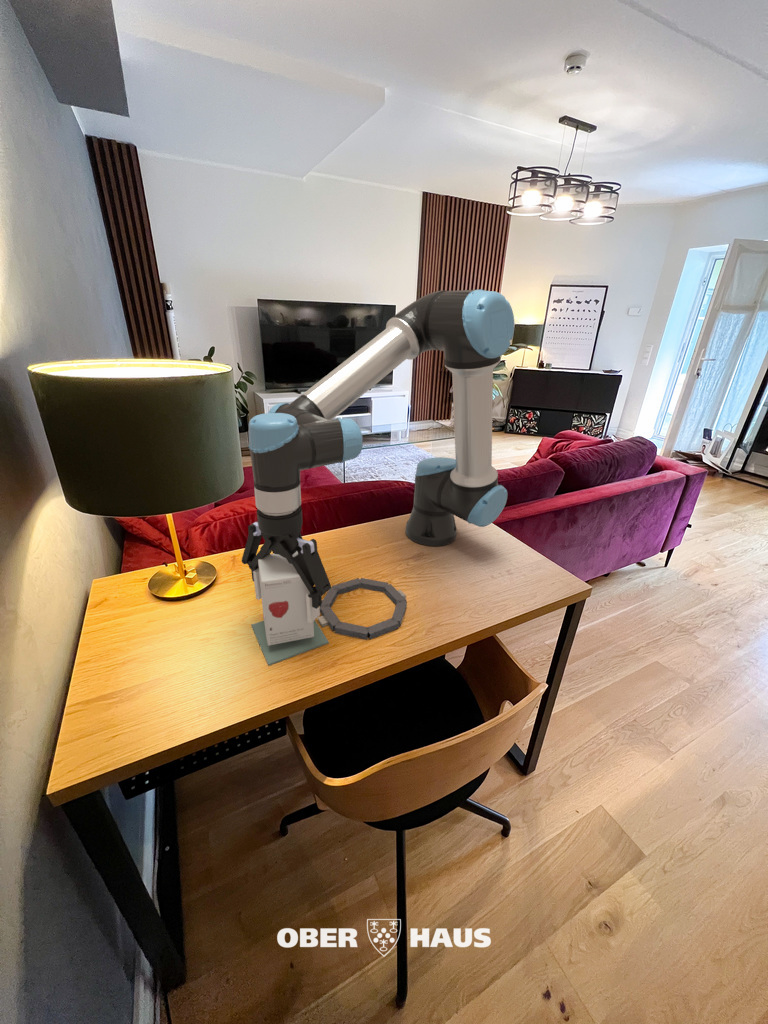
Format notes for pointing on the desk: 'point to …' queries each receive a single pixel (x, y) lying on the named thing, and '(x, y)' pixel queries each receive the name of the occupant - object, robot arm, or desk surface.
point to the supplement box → (283, 601)
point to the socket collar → (357, 630)
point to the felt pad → (287, 644)
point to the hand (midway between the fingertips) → (287, 606)
